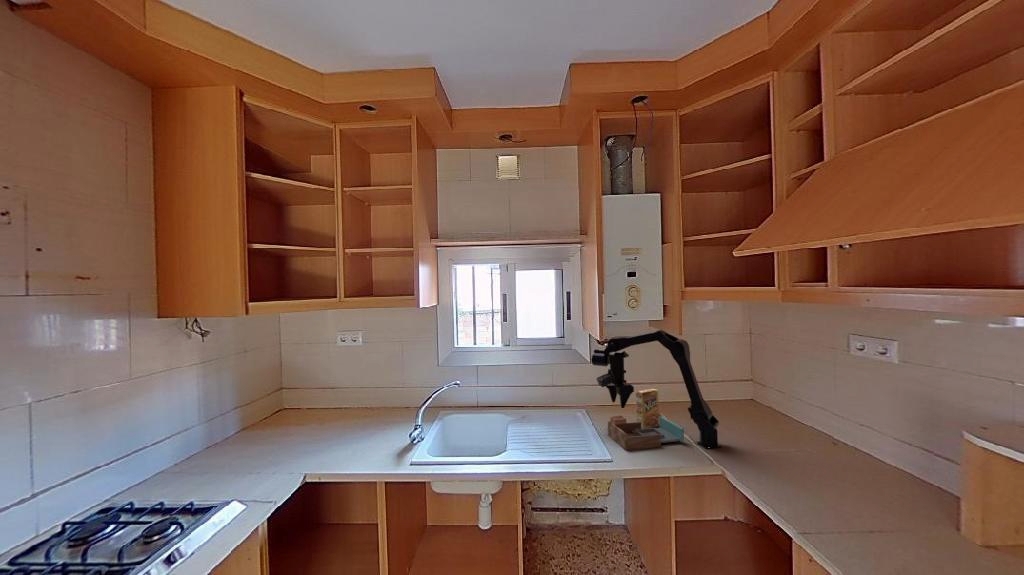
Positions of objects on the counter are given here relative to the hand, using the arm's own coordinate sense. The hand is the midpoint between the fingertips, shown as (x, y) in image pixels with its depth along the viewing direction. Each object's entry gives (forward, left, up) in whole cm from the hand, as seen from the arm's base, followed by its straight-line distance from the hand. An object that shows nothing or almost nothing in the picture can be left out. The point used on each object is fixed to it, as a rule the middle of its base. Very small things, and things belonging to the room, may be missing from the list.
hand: (617, 405), depth 192 cm
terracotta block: (0, 0, -10) cm, 10 cm away
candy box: (+1, -13, -10) cm, 17 cm away
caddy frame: (-14, 0, -10) cm, 18 cm away
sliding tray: (-14, -9, -9) cm, 19 cm away
